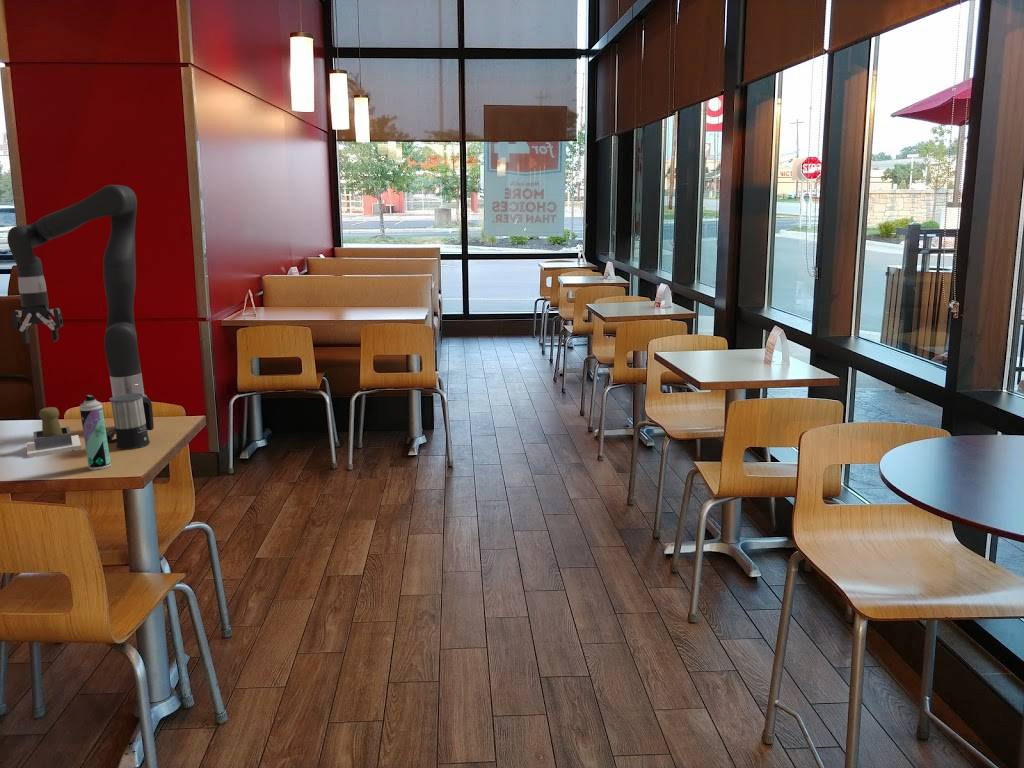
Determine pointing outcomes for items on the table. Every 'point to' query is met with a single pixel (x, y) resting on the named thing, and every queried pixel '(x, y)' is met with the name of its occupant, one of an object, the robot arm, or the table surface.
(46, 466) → the table surface
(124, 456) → the table surface
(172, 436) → the table surface
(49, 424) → the cork
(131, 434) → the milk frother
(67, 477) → the table surface
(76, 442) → the socket base
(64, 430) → the socket collar
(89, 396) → the spray can
